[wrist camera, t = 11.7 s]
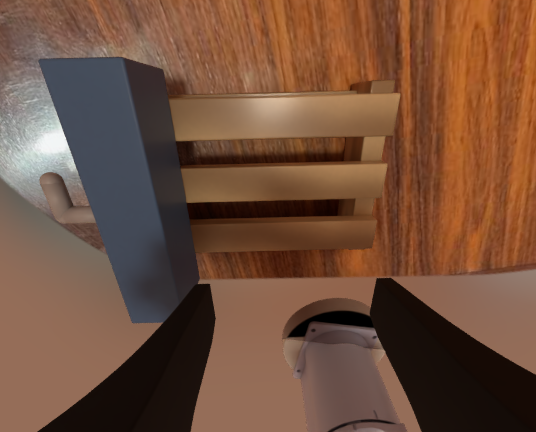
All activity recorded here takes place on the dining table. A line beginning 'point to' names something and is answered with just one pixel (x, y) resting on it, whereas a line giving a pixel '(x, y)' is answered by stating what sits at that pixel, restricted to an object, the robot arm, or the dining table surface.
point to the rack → (289, 165)
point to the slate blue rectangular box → (125, 177)
